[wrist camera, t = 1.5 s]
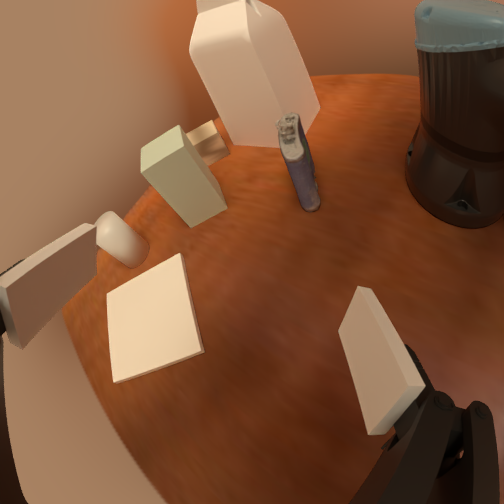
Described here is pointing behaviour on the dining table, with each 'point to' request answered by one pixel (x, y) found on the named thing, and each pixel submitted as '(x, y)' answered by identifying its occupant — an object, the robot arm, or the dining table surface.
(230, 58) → the milk
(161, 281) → the white tile
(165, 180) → the sage block
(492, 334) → the dining table surface
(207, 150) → the maple cube
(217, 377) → the dining table surface
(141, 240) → the white cylinder
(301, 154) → the flask
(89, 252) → the robot arm
